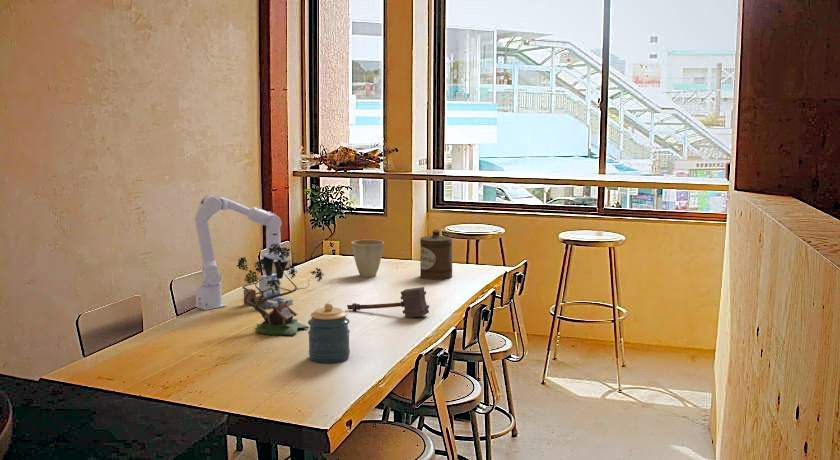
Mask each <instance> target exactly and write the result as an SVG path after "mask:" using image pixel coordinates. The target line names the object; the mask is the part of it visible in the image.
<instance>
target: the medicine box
mask: <svg viewBox="0 0 840 460" xmlns="http://www.w3.org/2000/svg"><path fill="white" fill-rule="evenodd" d="M265 277H266V274H263V275H258V281H259V280H261V279H262V280H261V281H259V282H258V288H259V289H260V290H262V291H264V290H266V289H268V288H270V286H269V285H270V284H269V283H268V284H267V281H271V279H272V278H273V279H274V278H275V279H274V280H277V275H276V272H275V273H273V272H272V276H267V277H266V278H265ZM263 278H264V279H263ZM278 281H279V283H281V280H280V279H278ZM275 283H277V282H275ZM266 285H268V286H266ZM274 286H275V285H274ZM274 286H272V288H273V287H274ZM277 286H278V287H280V288H281V284H279V285H278V284H277ZM275 288H276V287H274V288H273V290H274V289H275ZM280 288H277V289H278V290H276V289H275V291H274V294H275V295H277V294H281V289H280ZM258 291H259V290H258ZM259 292H260V291H259ZM259 292H258V293H259ZM263 294H264V295H263V298H267V297H269V296H273V293H272V290H271V289H269V290H267V291H265V292H263ZM258 295H259V297H261V295H262V293H260V294H258Z"/></svg>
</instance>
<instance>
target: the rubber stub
mask: <svg viewBox="0 0 840 460" xmlns="http://www.w3.org/2000/svg"><path fill="white" fill-rule="evenodd" d="M264 298H265V297H263V298H262V299H264ZM258 306H259V307H261V308H262V309H264V310H265V311H266V310H268V306H267V301H265V302H264V304H263V303H262V304H259V305H258Z"/></svg>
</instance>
